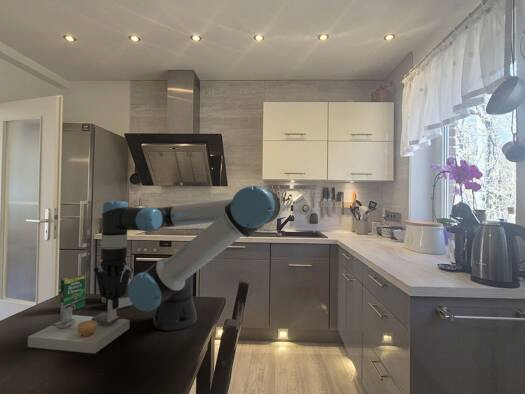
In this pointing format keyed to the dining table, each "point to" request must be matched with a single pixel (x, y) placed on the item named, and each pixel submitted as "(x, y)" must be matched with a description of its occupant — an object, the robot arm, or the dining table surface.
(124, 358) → the dining table surface
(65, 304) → the coffee box
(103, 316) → the grey flat block
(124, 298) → the digital clock
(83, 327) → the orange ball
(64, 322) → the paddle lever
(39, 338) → the panel
